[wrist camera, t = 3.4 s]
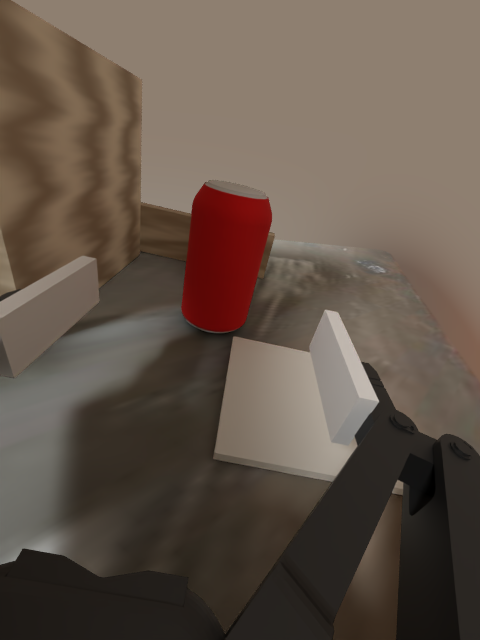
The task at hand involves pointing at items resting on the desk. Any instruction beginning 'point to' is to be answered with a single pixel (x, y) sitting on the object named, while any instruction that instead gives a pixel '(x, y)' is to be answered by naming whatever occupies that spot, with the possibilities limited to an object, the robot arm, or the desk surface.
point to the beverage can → (224, 254)
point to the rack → (73, 159)
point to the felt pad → (277, 414)
